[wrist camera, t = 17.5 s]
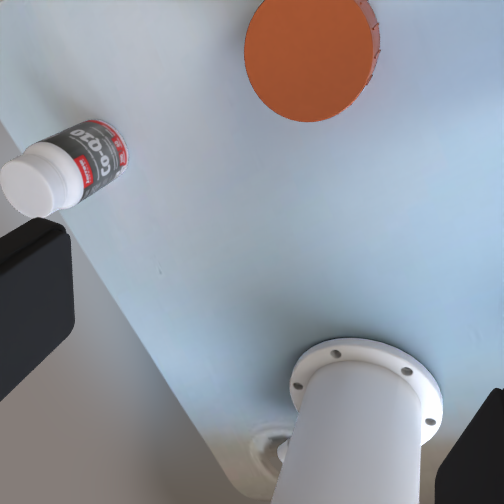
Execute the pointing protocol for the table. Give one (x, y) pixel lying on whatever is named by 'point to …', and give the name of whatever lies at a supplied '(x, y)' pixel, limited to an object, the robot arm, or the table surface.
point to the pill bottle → (64, 168)
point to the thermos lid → (311, 55)
